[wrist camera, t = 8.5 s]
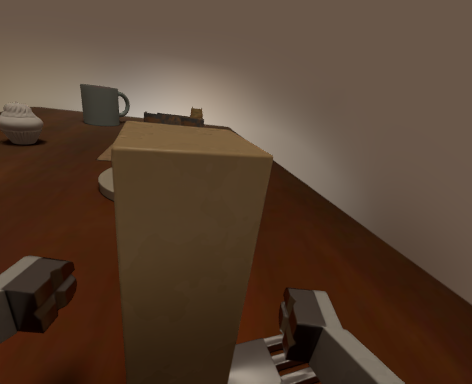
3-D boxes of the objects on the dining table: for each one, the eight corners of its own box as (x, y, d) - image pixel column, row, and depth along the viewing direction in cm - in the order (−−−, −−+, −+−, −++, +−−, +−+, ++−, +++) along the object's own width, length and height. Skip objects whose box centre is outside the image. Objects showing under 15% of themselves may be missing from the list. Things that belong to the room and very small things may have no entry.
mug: (95, 126, 64) (91, 86, 60) (77, 120, 68) (73, 82, 65) (138, 125, 75) (138, 91, 71) (121, 120, 79) (119, 88, 76)
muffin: (0, 147, 39) (-11, 101, 36) (1, 138, 43) (-9, 97, 40) (48, 146, 43) (41, 105, 40) (44, 138, 47) (38, 101, 44)
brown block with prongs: (131, 463, 9) (109, 146, 4) (135, 368, 12) (125, 120, 7) (335, 386, 12) (445, 164, 8) (299, 327, 15) (363, 142, 11)
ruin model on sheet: (223, 148, 61) (228, 109, 57) (239, 168, 46) (247, 117, 42) (117, 139, 54) (114, 94, 50) (96, 159, 39) (90, 97, 36)
